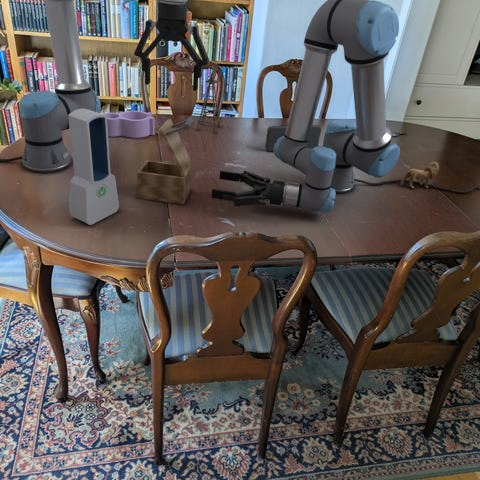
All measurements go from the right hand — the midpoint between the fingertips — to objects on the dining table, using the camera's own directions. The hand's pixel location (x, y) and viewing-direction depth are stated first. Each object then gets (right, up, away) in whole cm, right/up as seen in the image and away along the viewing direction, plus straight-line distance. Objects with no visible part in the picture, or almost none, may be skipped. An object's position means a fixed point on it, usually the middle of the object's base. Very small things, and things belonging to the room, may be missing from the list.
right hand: (215, 183), depth 145 cm
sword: (+75, +29, +69) cm, 106 cm away
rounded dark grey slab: (+29, +19, +46) cm, 58 cm away
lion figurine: (+73, +3, +28) cm, 78 cm away
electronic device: (-34, -10, -10) cm, 37 cm away
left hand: (-12, +25, -14) cm, 31 cm away
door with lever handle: (-12, +10, -5) cm, 16 cm away
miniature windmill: (-6, +31, +58) cm, 67 cm away
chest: (-17, -3, +4) cm, 17 cm away
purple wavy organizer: (-38, +26, +46) cm, 65 cm away
